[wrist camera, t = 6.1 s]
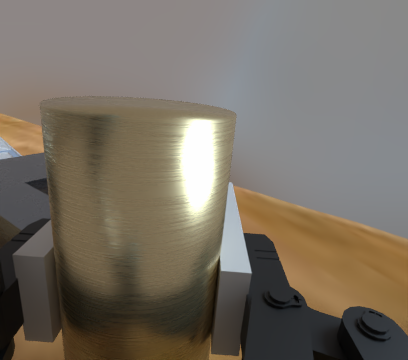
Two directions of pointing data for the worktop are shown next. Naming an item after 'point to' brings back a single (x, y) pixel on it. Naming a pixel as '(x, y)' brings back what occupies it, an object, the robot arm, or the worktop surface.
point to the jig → (22, 194)
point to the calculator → (7, 150)
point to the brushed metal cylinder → (136, 223)
